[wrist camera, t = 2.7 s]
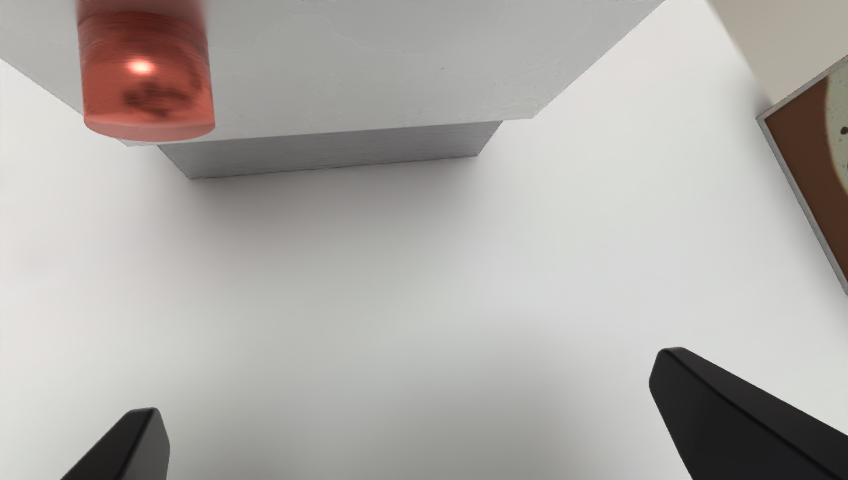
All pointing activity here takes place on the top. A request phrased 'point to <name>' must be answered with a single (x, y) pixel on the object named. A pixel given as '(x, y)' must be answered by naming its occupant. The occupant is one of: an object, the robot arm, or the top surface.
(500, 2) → the tabbed silver plate
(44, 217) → the top surface
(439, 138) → the grey open box
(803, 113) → the food container
